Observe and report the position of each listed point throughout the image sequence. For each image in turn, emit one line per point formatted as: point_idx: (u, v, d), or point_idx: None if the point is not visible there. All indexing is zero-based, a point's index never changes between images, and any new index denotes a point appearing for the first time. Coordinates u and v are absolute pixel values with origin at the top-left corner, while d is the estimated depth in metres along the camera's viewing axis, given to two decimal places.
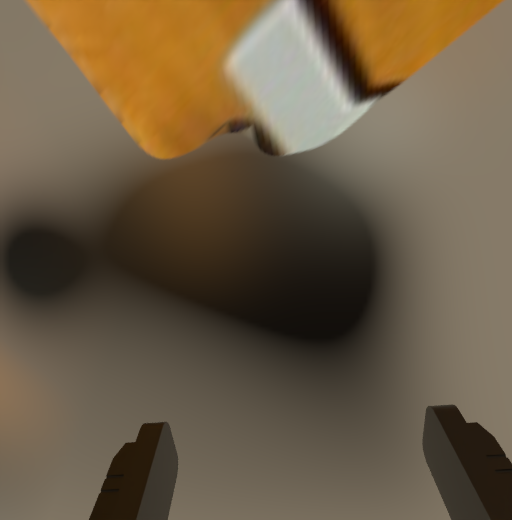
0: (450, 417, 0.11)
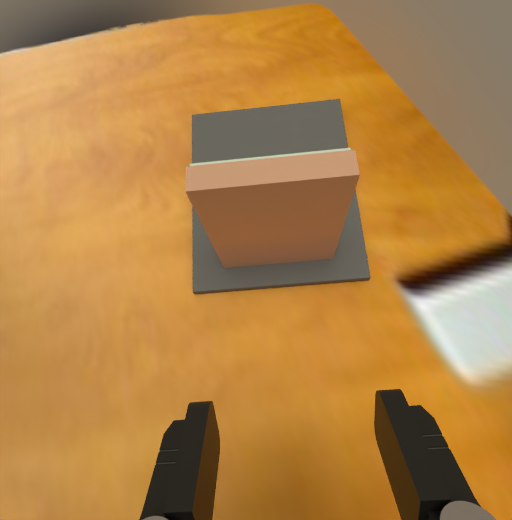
0: (394, 400, 0.11)
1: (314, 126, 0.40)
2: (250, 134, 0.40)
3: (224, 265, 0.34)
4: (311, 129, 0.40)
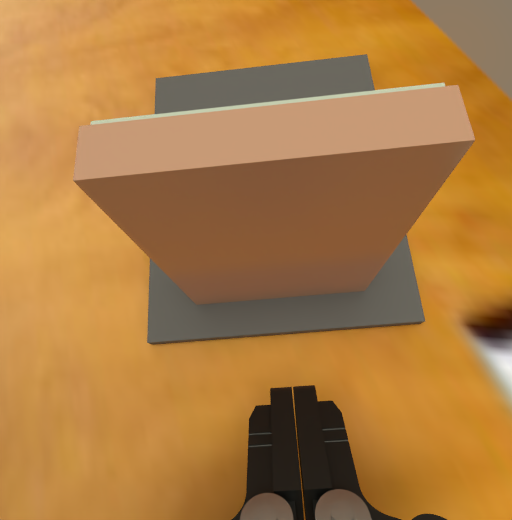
0: (305, 395, 0.12)
1: (330, 92, 0.27)
2: None
3: (196, 301, 0.22)
4: None
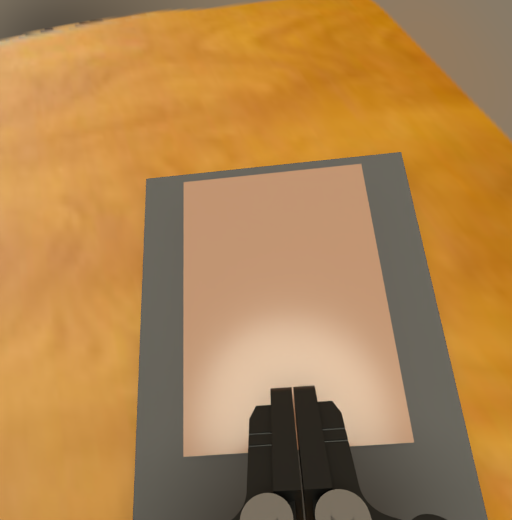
0: (305, 395, 0.12)
1: None
2: None
3: (186, 438, 0.17)
4: None
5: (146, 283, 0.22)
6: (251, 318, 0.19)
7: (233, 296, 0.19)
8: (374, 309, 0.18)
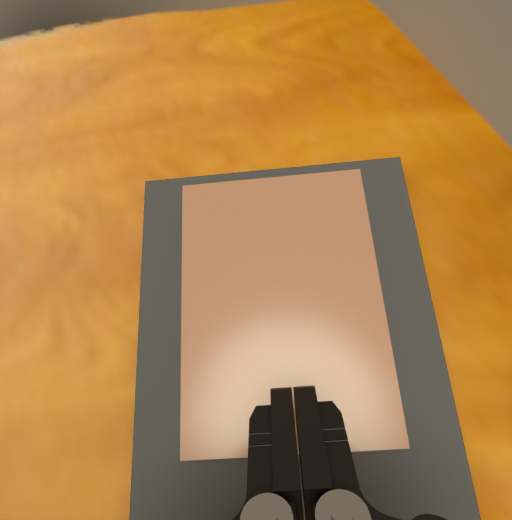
0: (305, 395, 0.12)
1: None
2: None
3: (183, 442, 0.17)
4: None
5: (144, 286, 0.22)
6: (249, 323, 0.19)
7: (231, 300, 0.19)
8: (371, 315, 0.18)
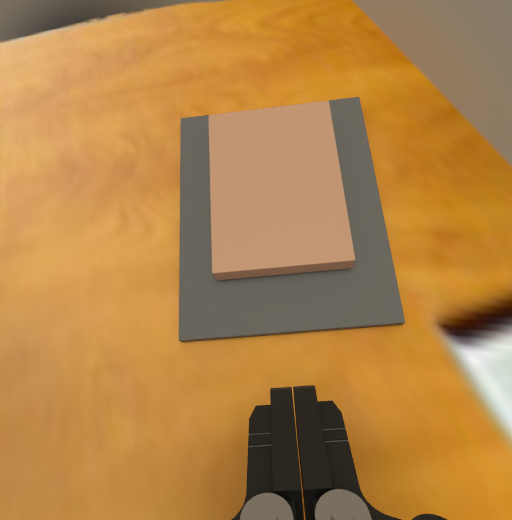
0: (305, 395, 0.12)
1: None
2: None
3: (214, 263, 0.27)
4: None
5: (183, 184, 0.32)
6: (254, 195, 0.29)
7: (242, 183, 0.29)
8: (334, 187, 0.28)
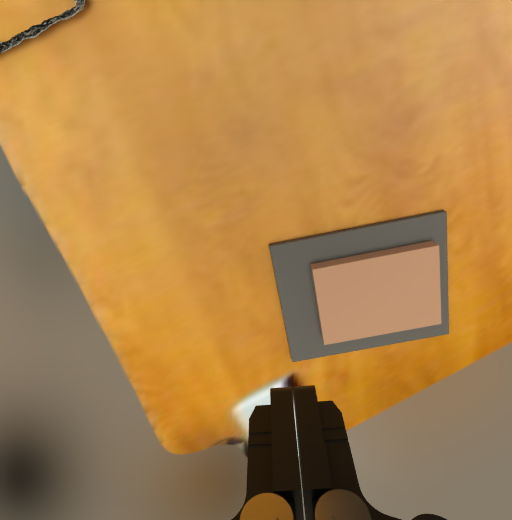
0: (305, 395, 0.12)
1: None
2: None
3: (319, 269, 0.42)
4: None
5: (383, 226, 0.43)
6: (368, 286, 0.43)
7: (377, 278, 0.43)
8: (372, 331, 0.45)
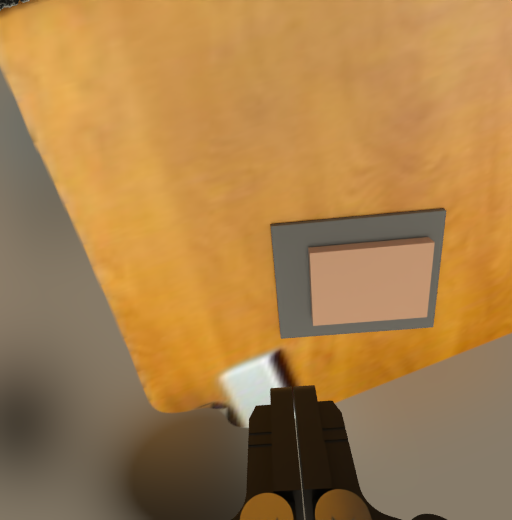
0: (305, 395, 0.12)
1: None
2: None
3: (316, 254, 0.44)
4: None
5: (383, 218, 0.44)
6: (361, 275, 0.45)
7: (371, 268, 0.44)
8: (360, 317, 0.47)
